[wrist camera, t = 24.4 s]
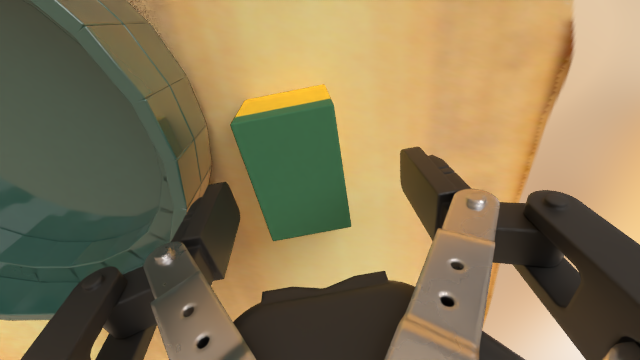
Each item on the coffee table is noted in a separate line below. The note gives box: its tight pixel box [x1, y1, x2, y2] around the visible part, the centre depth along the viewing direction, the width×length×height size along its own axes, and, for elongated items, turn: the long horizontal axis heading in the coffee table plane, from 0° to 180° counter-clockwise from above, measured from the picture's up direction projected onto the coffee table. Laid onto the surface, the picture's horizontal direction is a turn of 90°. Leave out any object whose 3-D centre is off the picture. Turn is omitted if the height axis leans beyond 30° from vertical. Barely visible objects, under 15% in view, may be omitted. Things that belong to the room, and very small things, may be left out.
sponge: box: [230, 85, 351, 241], centre depth 15 cm, size 7×4×4 cm, turn 10°
